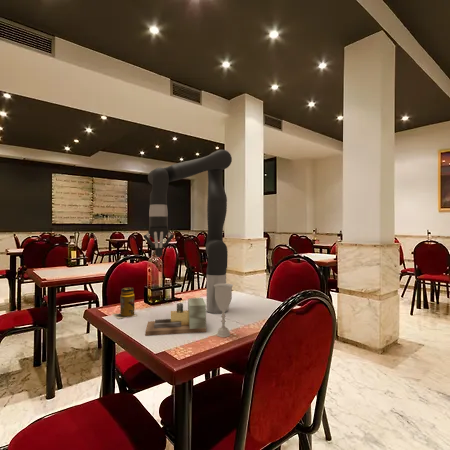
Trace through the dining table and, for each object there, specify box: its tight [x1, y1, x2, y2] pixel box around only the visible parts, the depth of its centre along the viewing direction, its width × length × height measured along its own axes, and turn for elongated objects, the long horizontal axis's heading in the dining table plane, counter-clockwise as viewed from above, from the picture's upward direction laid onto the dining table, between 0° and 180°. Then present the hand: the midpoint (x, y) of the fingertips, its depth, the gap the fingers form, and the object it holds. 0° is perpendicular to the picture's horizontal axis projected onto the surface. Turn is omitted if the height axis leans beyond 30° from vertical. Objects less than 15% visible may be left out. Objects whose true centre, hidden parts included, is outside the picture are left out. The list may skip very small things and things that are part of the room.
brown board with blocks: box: [144, 297, 207, 337], centre depth 119 cm, size 22×12×10 cm, turn 100°
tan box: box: [170, 302, 189, 325], centre depth 119 cm, size 10×3×8 cm, turn 100°
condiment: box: [113, 287, 138, 320], centre depth 137 cm, size 7×8×12 cm
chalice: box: [214, 283, 234, 338], centre depth 112 cm, size 7×7×18 cm
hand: (158, 256), depth 130 cm, fingers closed
